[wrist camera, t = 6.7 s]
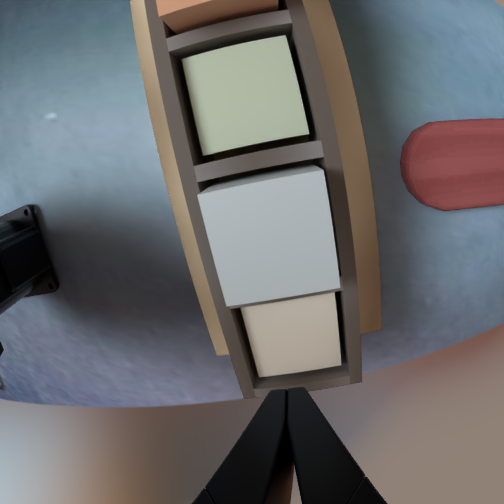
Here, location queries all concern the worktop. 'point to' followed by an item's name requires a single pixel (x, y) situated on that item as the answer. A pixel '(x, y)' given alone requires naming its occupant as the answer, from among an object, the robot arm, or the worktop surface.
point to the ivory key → (293, 334)
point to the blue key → (271, 235)
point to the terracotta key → (209, 12)
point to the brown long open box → (266, 160)
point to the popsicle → (455, 163)
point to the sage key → (245, 95)
